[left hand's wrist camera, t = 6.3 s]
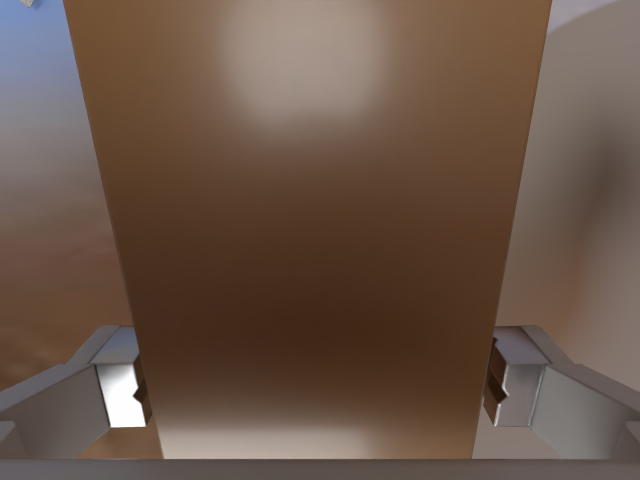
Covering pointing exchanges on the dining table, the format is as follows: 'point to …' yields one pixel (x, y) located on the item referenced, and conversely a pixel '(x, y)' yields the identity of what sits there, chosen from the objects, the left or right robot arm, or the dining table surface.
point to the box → (311, 212)
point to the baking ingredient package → (27, 2)
